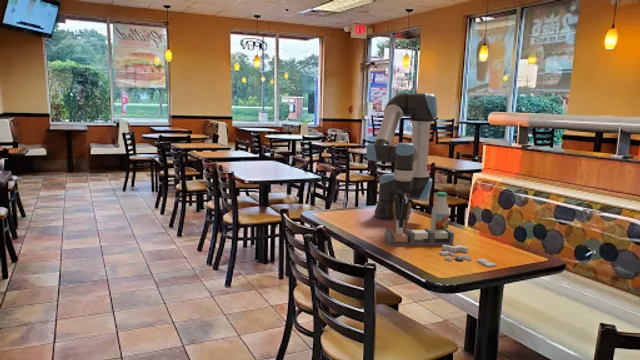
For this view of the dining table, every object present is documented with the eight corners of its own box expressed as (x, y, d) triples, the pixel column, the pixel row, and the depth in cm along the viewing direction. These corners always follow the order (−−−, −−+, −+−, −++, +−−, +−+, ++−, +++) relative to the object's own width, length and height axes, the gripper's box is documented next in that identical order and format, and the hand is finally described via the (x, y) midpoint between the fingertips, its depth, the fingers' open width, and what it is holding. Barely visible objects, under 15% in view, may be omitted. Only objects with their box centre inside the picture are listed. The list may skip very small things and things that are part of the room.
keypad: (384, 240, 204) (385, 228, 203) (445, 239, 208) (446, 227, 207) (390, 245, 196) (391, 233, 195) (453, 245, 200) (454, 232, 200)
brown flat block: (390, 238, 202) (390, 233, 202) (403, 238, 203) (403, 233, 203) (393, 241, 198) (394, 236, 197) (407, 241, 198) (407, 236, 198)
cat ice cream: (390, 230, 220) (392, 193, 217) (393, 226, 227) (395, 190, 224) (409, 233, 217) (411, 195, 214) (411, 229, 224) (414, 192, 221)
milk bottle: (427, 235, 214) (431, 192, 211) (432, 232, 221) (435, 190, 217) (444, 238, 210) (448, 195, 207) (448, 234, 217) (452, 192, 214)
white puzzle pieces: (451, 271, 169) (451, 265, 169) (417, 251, 191) (417, 246, 191) (496, 267, 176) (497, 261, 176) (458, 248, 198) (459, 243, 198)
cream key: (410, 235, 204) (410, 230, 203) (423, 235, 205) (423, 230, 204) (414, 238, 199) (414, 233, 198) (427, 238, 200) (428, 233, 199)
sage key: (429, 235, 205) (430, 229, 205) (442, 235, 206) (443, 229, 206) (434, 238, 200) (434, 233, 200) (447, 238, 201) (448, 233, 201)
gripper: (389, 177, 202) (386, 230, 206) (399, 182, 189) (395, 238, 193) (406, 177, 203) (402, 230, 207) (417, 182, 190) (412, 238, 194)
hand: (399, 234), depth 200 cm, fingers closed
